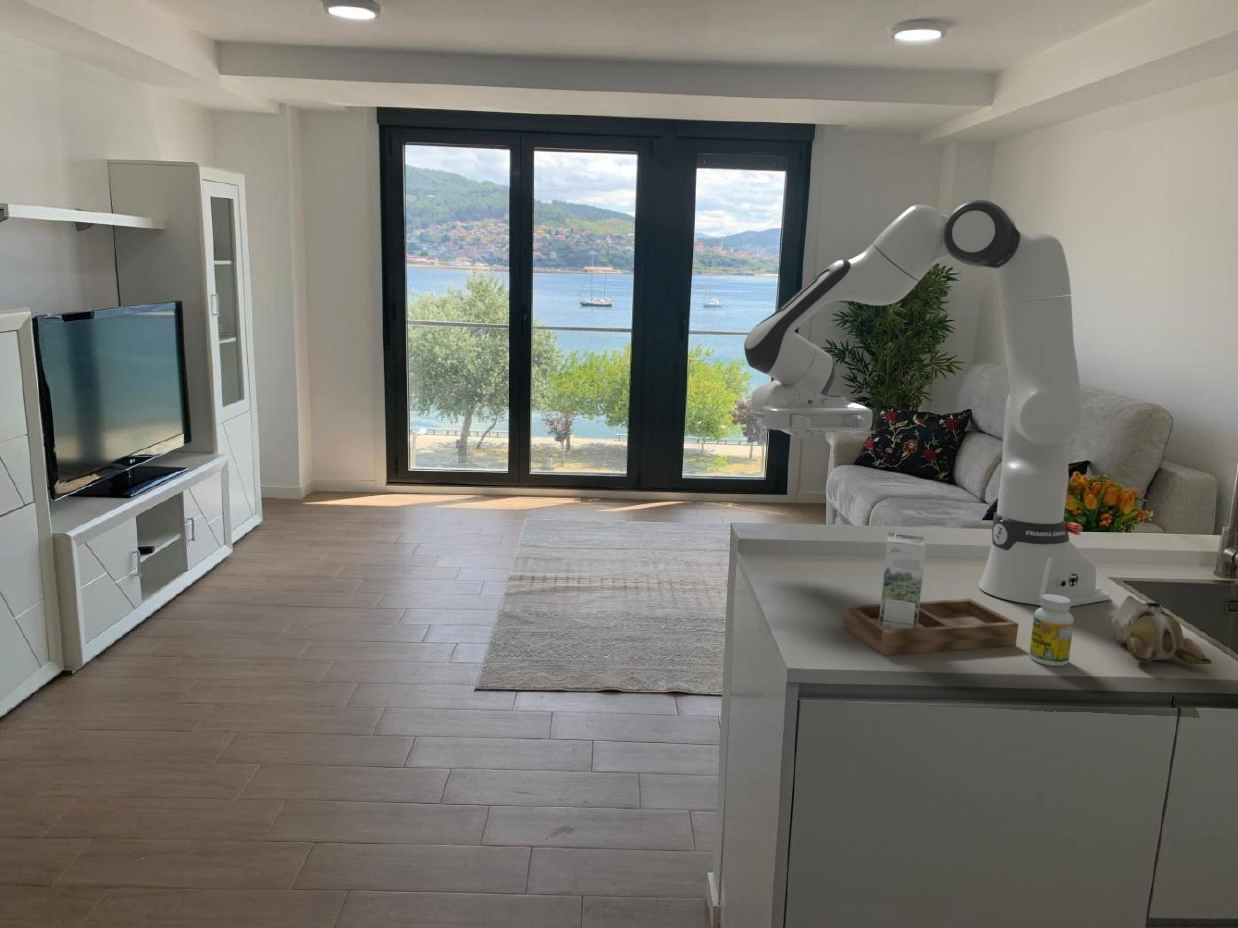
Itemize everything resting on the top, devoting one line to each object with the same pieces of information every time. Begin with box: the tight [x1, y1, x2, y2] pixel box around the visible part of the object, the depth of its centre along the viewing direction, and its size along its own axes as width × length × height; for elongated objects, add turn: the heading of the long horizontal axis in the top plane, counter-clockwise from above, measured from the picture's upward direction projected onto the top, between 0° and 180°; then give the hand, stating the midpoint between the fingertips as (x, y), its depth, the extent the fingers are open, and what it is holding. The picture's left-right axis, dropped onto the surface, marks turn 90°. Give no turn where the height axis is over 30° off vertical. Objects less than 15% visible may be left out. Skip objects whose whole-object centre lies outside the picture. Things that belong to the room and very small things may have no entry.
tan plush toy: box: [1111, 595, 1213, 665], centre depth 144 cm, size 11×9×15 cm
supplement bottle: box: [1029, 594, 1075, 667], centre depth 141 cm, size 5×5×10 cm
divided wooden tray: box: [843, 598, 1019, 656], centre depth 149 cm, size 23×12×4 cm, turn 106°
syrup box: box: [879, 532, 927, 630], centre depth 146 cm, size 6×6×14 cm
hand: (837, 424), depth 165 cm, fingers open, 8 cm apart
